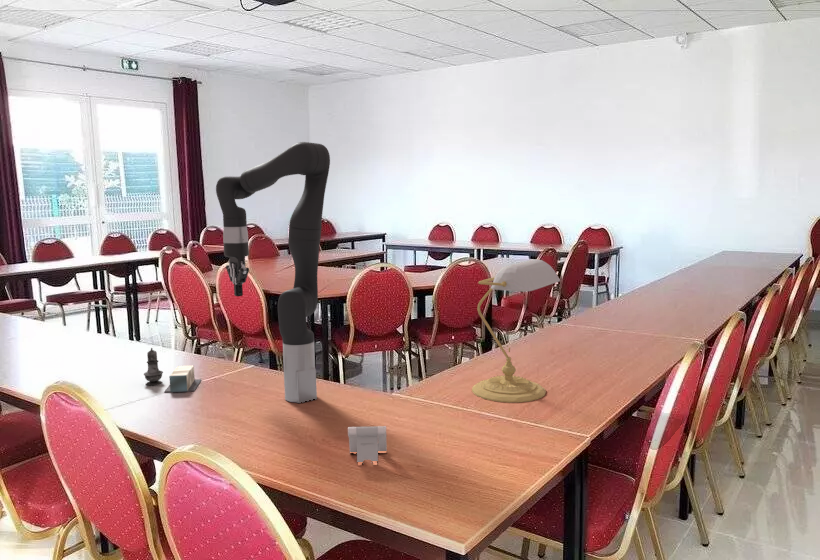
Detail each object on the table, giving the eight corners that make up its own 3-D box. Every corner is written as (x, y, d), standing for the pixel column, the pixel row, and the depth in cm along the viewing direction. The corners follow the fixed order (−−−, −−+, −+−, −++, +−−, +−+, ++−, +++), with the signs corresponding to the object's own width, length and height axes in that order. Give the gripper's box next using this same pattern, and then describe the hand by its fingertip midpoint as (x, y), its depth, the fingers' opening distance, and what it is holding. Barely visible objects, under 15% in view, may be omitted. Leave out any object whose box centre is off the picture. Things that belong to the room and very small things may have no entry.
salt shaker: (140, 385, 211) (137, 348, 209) (155, 380, 216) (152, 344, 214) (153, 387, 208) (150, 350, 206) (167, 382, 213) (165, 346, 211)
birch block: (186, 375, 201) (193, 365, 213) (169, 376, 201) (178, 366, 213) (187, 391, 202) (194, 380, 214) (170, 391, 201) (178, 380, 213)
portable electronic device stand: (386, 451, 154) (386, 417, 153) (386, 465, 146) (386, 429, 145) (350, 452, 154) (349, 418, 153) (348, 466, 146) (347, 430, 145)
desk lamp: (524, 412, 180) (526, 268, 175) (452, 398, 193) (451, 264, 187) (563, 383, 206) (566, 258, 200) (497, 373, 218) (497, 255, 213)
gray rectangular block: (194, 391, 203) (194, 390, 203) (164, 392, 202) (164, 391, 202) (201, 380, 215) (201, 379, 215) (173, 381, 214) (173, 380, 214)
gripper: (256, 241, 200) (258, 297, 202) (238, 239, 210) (241, 292, 213) (232, 243, 195) (235, 299, 198) (216, 240, 206) (219, 294, 208)
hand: (238, 295), depth 205 cm, fingers closed
